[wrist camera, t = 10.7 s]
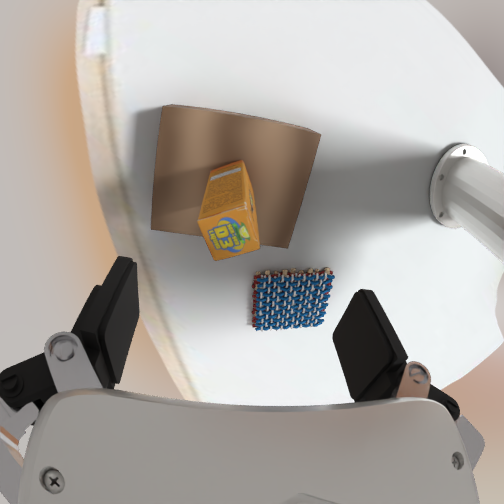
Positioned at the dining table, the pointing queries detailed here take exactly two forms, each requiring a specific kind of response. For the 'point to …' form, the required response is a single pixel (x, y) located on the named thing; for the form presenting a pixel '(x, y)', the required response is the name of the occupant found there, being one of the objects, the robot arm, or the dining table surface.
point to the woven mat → (290, 298)
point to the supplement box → (229, 212)
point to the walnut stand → (223, 153)
